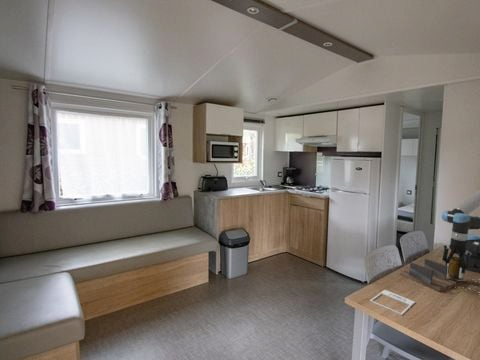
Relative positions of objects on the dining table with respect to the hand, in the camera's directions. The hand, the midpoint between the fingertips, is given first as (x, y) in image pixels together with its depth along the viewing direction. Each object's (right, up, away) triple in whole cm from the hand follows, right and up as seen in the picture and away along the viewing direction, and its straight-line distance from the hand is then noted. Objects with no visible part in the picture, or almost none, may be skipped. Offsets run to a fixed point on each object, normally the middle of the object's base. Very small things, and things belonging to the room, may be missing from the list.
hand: (454, 275), depth 164 cm
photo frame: (-54, -4, -29) cm, 61 cm away
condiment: (0, -1, -1) cm, 1 cm away
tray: (-18, -2, -2) cm, 19 cm away
